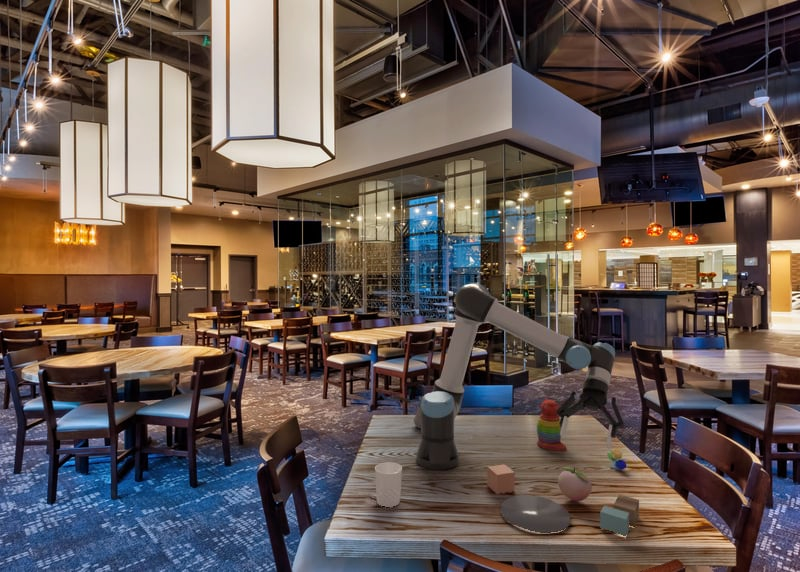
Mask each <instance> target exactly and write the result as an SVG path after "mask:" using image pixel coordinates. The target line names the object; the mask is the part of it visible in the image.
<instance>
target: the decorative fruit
mask: <svg viewBox="0 0 800 572" xmlns="http://www.w3.org/2000/svg"><path fill="white" fill-rule="evenodd" d="M562 470H563V471H562V472H561V473H560V474H559V476H558V478H557V484H558V485H557V486H558V488H559V490H560V492H561V493H562V495H564V497H566V498H568V499H570V500H571V501H573V502H581V501H582V502H583V501H584V500H585V499H587V498H588V497H589V496H590V494H591V493H592V490H593V489H592V488H593V487H592V485H593V484H592V482H591V479H590V478H589V477H588V476H587V475H586V474H585V473H583V472H579V471H577V470H576V467H573V468H572V467H569V466H564V467H562Z"/></svg>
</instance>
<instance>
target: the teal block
mask: <svg viewBox="0 0 800 572" xmlns="http://www.w3.org/2000/svg"><path fill="white" fill-rule="evenodd" d="M599 513H600V517H599V519H600V522H599V523H600V524H599V525H600V526H599V529H600V528H601V529H605V530H609V531H613V532H615V533H618V534H621V535H623V536H626V535H627V533H628V531H629V532H630V528H629V513H628V512H625V511H621V510H618V509H615V508H614V507H610V506H607V505H603V507H602V508H601V510H600V512H599ZM628 534H629V533H628Z"/></svg>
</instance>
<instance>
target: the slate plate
mask: <svg viewBox="0 0 800 572" xmlns="http://www.w3.org/2000/svg"><path fill="white" fill-rule="evenodd" d="M500 506H501V507H500V513H502V514H501V517H502V516H503V517H504V518H505V519H506V520H507V521H509V522H510V523H512V524H514V525H517V526H519V527H522V528H524V529H528V530H530V531H535V532H540V533H551V532H558V531H561V530H564V529H565V528H567V527H568V526H569V527H570V525H571V515H570V513H569V512H568V510H567V509H566V508H565V507H564V506H562V505H561V504H559V503H558V502H556V501H554V500H551V499H549V498H545V497H541V496H538V495H527V494H522V495H515V496H510V497H509V498H507V499H505V500H503V502H502V503H501V505H500ZM503 517H502V518H503ZM504 518H503V519H504ZM505 519H504V520H505ZM569 524H570V525H569ZM569 527H568V528H569ZM568 528H567V529H568Z"/></svg>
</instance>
